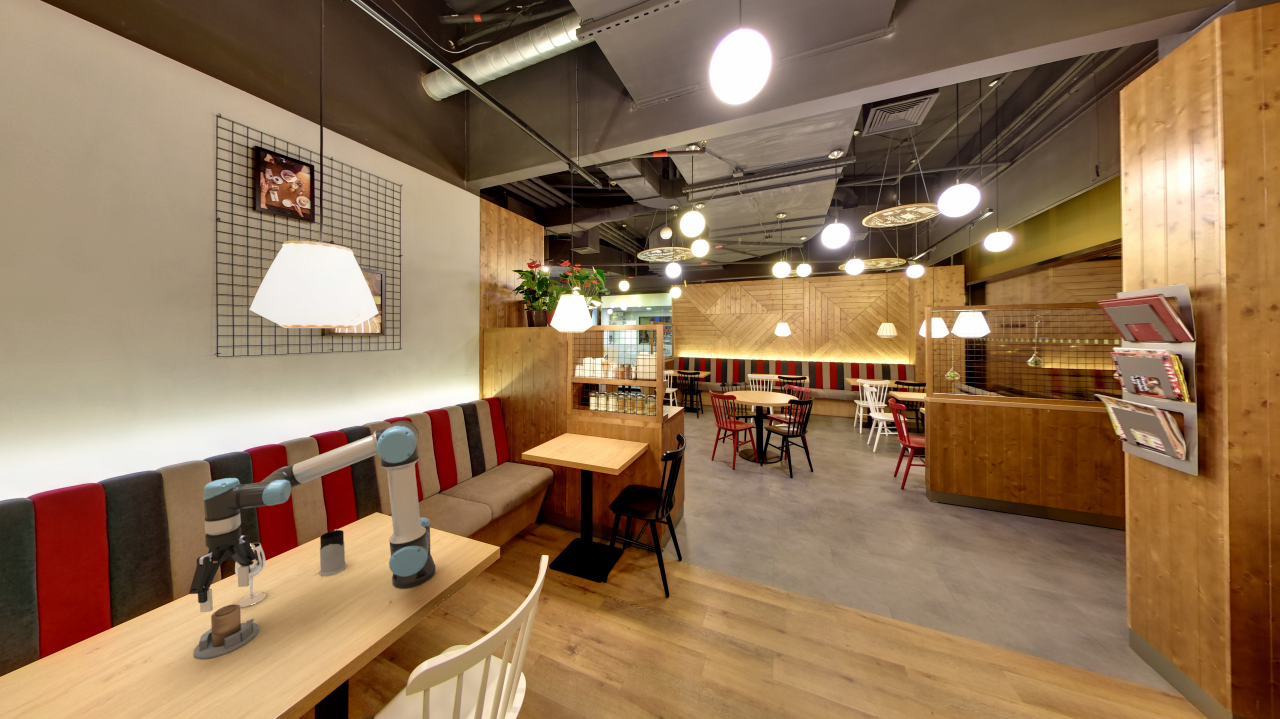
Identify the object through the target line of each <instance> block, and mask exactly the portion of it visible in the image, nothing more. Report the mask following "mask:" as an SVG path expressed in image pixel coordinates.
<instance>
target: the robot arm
mask: <svg viewBox="0 0 1280 719" xmlns="http://www.w3.org/2000/svg"><path fill="white" fill-rule="evenodd" d="M419 438H420V433H419V429H418V427H417V426H416V425H415V424H414V423H412V422H411V421H407V420H399V421H395V422H392V423H391V424H388V425H387V426H385V427H382V428H380V429H377V430H375V431H374V432H373V434H371V435H368V436H366V437H363V438H361V439H357V440H355V441H353V442H350V443H347V444H345V445H342V446H340V447H337V448H334V449H332V450H329V451H326V452H324V453H322V454H318V455H316V456H313V457H311V458H308V459H306V460H305V459H304V460H303V461H299V462H297V463H295V464H293V465H290V466H283V467H280V468H278V469H276V470H274V471H273V472H272V473H271V474H269V475H268V476H267V477H265V478H264V479H263V480H261V481H260V482H254V483H242V484H241V482H240V480H239V478H236V477H228V478H227V477H226V478H221V479H216V480H212V481H210V482H208V483H207V484H205V486H204V487H203V498H202V501H203V507H204V508H203V509H204V510H203V512H204V529H205V530H204V533H205V535H204V537H205V538H204V539H205V540H204V541H205V542H204V543H205V546H206V548H207V549H208V552H207V554H205V555H204V556H199V557H197V558H196V567H195V571H194V575H193V578H192V582H191V585H190V588H189V593H188V594H189V595H197V602H198V604H199V608H200V609H199V612H200V613H207V612H208V613H209V612H210V613H211V612H212V611H213V610H214V607H213V589H212V588H210V587H211V585H212V583H213V581H214V579H215V577H216V574H217V572H218V570H219V568H220V566H222V565H223V563H224V561H226V560H227V559H228V558H231V559H232V560H234V561H235V563H236V562H237V563H238V564H239V565H242V566H239V567H238V576H237V587H238V588H242V587H245V588H246V587H250V582H249V573H250V565H252V564H253V563H254V561H252V560H255V559H256V556H255V554H254V552H253V549H252V547H251V545H250V544H251V542H250V541H249V535H242V526H241V524H242V520H241V510H244V509H249V508H250V509H251V508H258V507H259V508H260V507H261V508H262V507H267V506H269V507H270V506H275V505H280V504H284V503H285V502H287V501H288V500H289V498H290V496H291V492H292V489H293V488H295V487H298V486H301V485H302V484H305V483H308V482H310V481H313V480H316V479H318V478H320V477H322V476H325V475H328V474H330V473H332V472H333V473H334V472H335V471H338V470H341V469H343V468H346V467H348V466H350V465H353V464H356V463H359V462H360V461H361V462H362V461H363V460H364V461H365V460H367V459H369V458H370V457H373V456H377V455H378V456H379V458H380V466H381V468H383V469H385V471H386V472H387V473H386V475H387V485H388V491H389V492H388V494H389V502H390V512H391V519H392V520H391V521H392V530H393V534H392V535H391V536H390V537H389V538H388V540H389V541H388V542H389V549H390V558H389V559H388V560H389V561H388V565H389V570H390V571H391V574H392V576H391V580H392V582H391V584H392V585H393V587H394V588H399V589H409V588H414V587H417V586H419V585H422V584H425V583H427V582H428V581H429V580H431V579H432V578H433V577H434V576H435V574H436V572H437V571H436V567H437V566H436V564H435V561H434V559H433V557H432V554H431V522H430V521H431V520H430V519H429V518H427V517H421V515H420V507H419V506H420V504H419V496H418V495H419V494H418V486H417V485H418V484H417V477H416V466H415V465H416V463H417V462H418V461H419V460H420V457H419V456H420V455H419V448H418V447H419V446H418V442H419Z"/></svg>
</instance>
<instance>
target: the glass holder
mask: <svg viewBox="0 0 1280 719" xmlns="http://www.w3.org/2000/svg"><path fill="white" fill-rule="evenodd" d="M344 536H345V535H344V531H343V530H342V529H337V528H336V529H334V530H330V531H328V532H325V533H323V534H322V535H320V541H319V542H320V546H319V556H320V557H319V558H320V571H319V576H320V575H321V577H330V575H331V576H335V575H337V574H339V573H341V572H343V571H345V569H346V568H347V564H346V563H345V562H346V559H345V558H346V557H345V556H346V555H345V553H346V551H345V539H344Z"/></svg>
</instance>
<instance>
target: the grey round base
mask: <svg viewBox="0 0 1280 719" xmlns="http://www.w3.org/2000/svg"><path fill="white" fill-rule="evenodd" d="M259 631H260V625H259V624H258V623H257V622H254V618H251V619H248V620H246V622H241V630H240V631H239V632H237V633H235V634H233V635H231V636H228V637H226V638H224V646H220V647H213V646H212V627H211V628H209V629H208V630H207V631H206V632H204V633H203V634H202V635H201V636H200V638H199V642H198V644H197V645H195V648H194V649H193V657H194V658H195V659H198V660H210V659H213V658H218V657H221V656H224V655H227V654H230V653H231V652H234V651H236V650H239V649H240V648H242V647H244V646H245V645H247V644H248V643H249V642H251V641H252V640H253V639H254V638H255V637H256V636H257V634H259Z"/></svg>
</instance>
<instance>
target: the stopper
mask: <svg viewBox="0 0 1280 719" xmlns="http://www.w3.org/2000/svg"><path fill="white" fill-rule="evenodd" d="M241 616H242V615H241V607H240V605H237V604H235V603H234V604H228V605H224V606H222V607H221V608H218V609H217V610H216V611H214V612H213V613H211V616H210V618H211V619H210V620H211V622H210V623H211V625H210V626H211V628H212V646H213V647H220V646H224V638H226V637H228V636H231V635H233V634H235V633H237V632H239V631H240V630H241V623H242V621H241Z"/></svg>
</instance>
